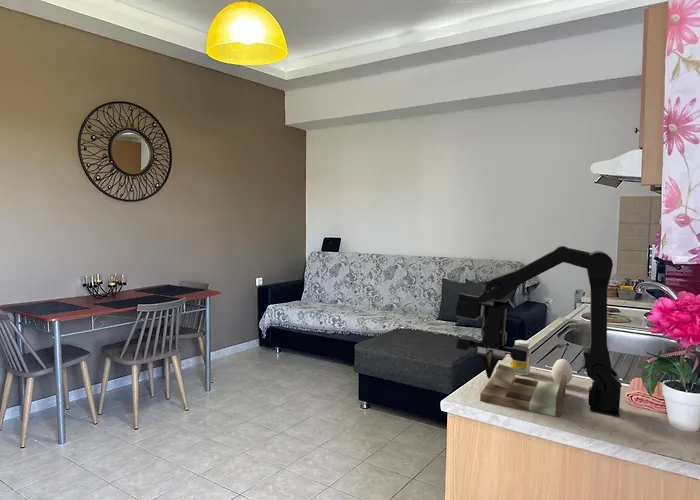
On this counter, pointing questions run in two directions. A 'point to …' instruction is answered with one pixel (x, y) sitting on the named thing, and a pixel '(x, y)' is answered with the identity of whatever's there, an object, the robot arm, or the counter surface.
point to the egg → (561, 371)
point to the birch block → (504, 376)
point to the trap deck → (527, 395)
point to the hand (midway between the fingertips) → (489, 378)
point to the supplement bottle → (522, 367)
